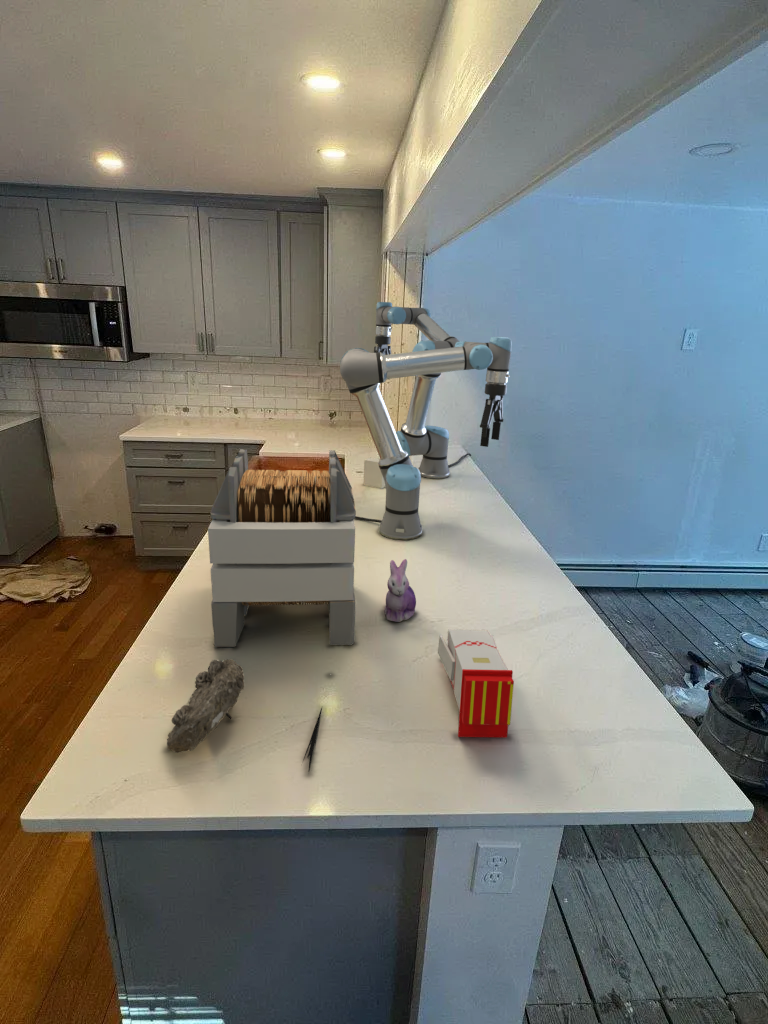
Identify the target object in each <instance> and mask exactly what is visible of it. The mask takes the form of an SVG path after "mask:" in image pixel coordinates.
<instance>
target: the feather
mask: <svg viewBox="0 0 768 1024" xmlns="http://www.w3.org/2000/svg"><path fill="white" fill-rule="evenodd" d="M329 675H330V676H331V675H332V674H331V673H330V674H329ZM322 710H323V707H321V708H320V710H319V713H318V716H317V719H316V723H315V725H314V728H313V731H312V733H311V737H310V739H309V742H308V745H307V748H306V751H305V754H304V757H303V760H302V763H301V767H302V765H303V763H304V761H305V758H308V759H309V760H308V762H307V763H308V764H307V766H308V771H310V770H311V766H312V765H311V764H312V760H313V757H315V756H314V755H315V751H316V749H315V746H317V739H318V733H319V729H320V722H321V717H322V712H323V711H322ZM313 754H314V755H313ZM306 755H307V757H306Z"/></svg>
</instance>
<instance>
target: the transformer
mask: <svg viewBox="0 0 768 1024" xmlns="http://www.w3.org/2000/svg"><path fill="white" fill-rule="evenodd" d="M328 450H329V451H328V470H322V471H320V470H315V469H314V470H312V471H308V470H307V469H305V470H304V469H303V470H302V469H286V470H280V469H276V470H275V469H266V470H265V469H256V470H255V469H249V459H248V449H243V448H239V451H238V452H237V455H236V456H235V457H234V460H233V462H232V464H231V466H230V467H229V468H228V471H227V473H226V475H225V477H224V480H223V481H222V484H221V485H220V489H219V491H218V493H217V495H216V498H215V499H214V501H213V504H212V507H211V509H210V519H212V520H211V522H210V524H209V526H208V528H207V535H208V536H207V537H208V552H209V553H208V554H209V564H212V565H211V568H210V581H211V597H212V598H211V599H212V600H211V604H210V607H211V622H212V623H211V624H212V631H213V644H212V645H213V647H214V648H219V649H220V648H222V647H223V648H224V647H226V648H227V647H230V648H232V647H234V648H235V647H236V646H237V644H238V641H239V639H240V636H241V634H242V631H243V629H244V627H245V616H247V615H248V609H249V607H250V606H298V605H299V606H303V605H304V606H306V605H307V606H309V605H317V606H318V605H320V606H321V605H328V634H329V635H328V637H329V645H330V646H335V645H337V646H340V645H341V646H351V645H353V644H355V633H356V632H355V630H356V595H355V588H354V587H355V586H354V585H355V565H354V564H355V550H356V549H355V548H356V526H355V525H356V524H355V519H354V518H355V517H356V516H357V510H356V504H355V498H354V494H353V487H352V485H351V483H350V480H349V479H348V476H347V474H346V472H345V470H344V468H343V466H342V463H341V462H340V459H339V457H338V455H337V453H336V450H333V449H328Z"/></svg>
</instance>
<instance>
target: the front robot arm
mask: <svg viewBox="0 0 768 1024" xmlns="http://www.w3.org/2000/svg"><path fill="white" fill-rule="evenodd" d="M512 347H513V341H512V339H511V338H510V337H505V336H503V337H502V336H491V337H490V338H489V342H477V341H465V340H464V341H460V342H457V343H456V344H455V347H452V348H443V349H434V350H425V351H416V352H412V351H409V352H399V353H391V354H389V355H384V354H382V353H381V352H378V353H374V352H369V351H368V350H366V349H364V348H362V347H355V348H351V349H349V350H347V351H345V352H344V354H343V355H342V356H341V359H340V363H339V373H340V376H341V378H342V380H343V381H344V382H345V384H346V387H347V389H348V391H349V394H350V395H352V396H354V397H355V398H356V400H357V403H358V405H359V408H360V410H361V413H362V416H363V418H364V421H365V423H366V426H367V428H368V431H369V433H370V436H371V438H372V442H373V443H374V447H375V449H376V452H377V454H378V456H379V459H380V460H379V462H378V465H379V468H380V471H381V473H382V476H383V478H384V481H385V504H384V505H385V507H384V508H385V509H384V513H383V515H382V519H376V518H368V517H362V516H357V515H356V517H355V518H354V520H359V521H365V522H371V523H377V524H378V523H379V527H378V533H379V534H380V535H381V536H382V537H385V538H387V539H389V540H395V541H410V540H415V539H418V538H420V537H421V536H422V535H423V525H422V524H421V518H420V515H419V507H420V506H419V505H420V490H421V483H422V476H421V474H420V471H419V470H418V467H416V466H414V465H413V463H412V460H411V457H410V456H409V455H408V453H407V452H406V451H404V450H402V448H401V445H400V443H399V440H398V437H397V435H396V432H397V431H396V429H395V427H394V424H393V422H392V421H393V420H392V419H391V416H390V413H389V411H388V408H387V406H386V402H385V400H384V397H383V395H382V391H381V389H380V385H381V384H385V382H386V381H387V380H393V379H399V378H400V379H401V378H408V377H416V376H417V375H426V374H434V373H441V374H442V373H449V372H450V373H451V372H459V371H460V372H461V371H469V370H478V371H481V370H486V374H485V382H486V383H485V386H484V394H485V395H487V396H489V397H488V398H485V404H484V408H483V412H482V416H481V421H480V424H479V428H480V429H481V435H480V442H479V443H480V444H479V446H480V447H484V448H488V447H489V443H490V438H491V440H494V441H499V440H500V435H501V434H500V433H501V425H502V423H504V396H506V395H507V392H508V391H507V390H508V385H507V383H508V380H509V378H510V377H511V376H510V374H509V373H510V371H509V370H510V364H511V363H510V362H511V357H512ZM492 421H493V422H492ZM491 423H492V430H491ZM490 434H491V435H490ZM490 436H491V437H490Z"/></svg>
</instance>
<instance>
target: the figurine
mask: <svg viewBox="0 0 768 1024" xmlns="http://www.w3.org/2000/svg"><path fill="white" fill-rule="evenodd" d="M407 567H408V559H406V558H404V559H403V560H402V561H401V563H400V565H399V566H398V565H397V563H396V562H395V561H394V560H393V559H391V560H390V561H389V570H390V576H389V578H388V579H387V589H388V591H387V592H386V594H385V595H386V596H385V607H384V615H385V616H386V620H387V621H391V622H395V623H400V622H402V621H406V620H409V619H410V618H411V617H413V616H414V615H415V610H416V606H417V597H416V593H415V591H414V590H413V587H411V586H410V582H409V579H408V577H407V574H406V571H407Z"/></svg>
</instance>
